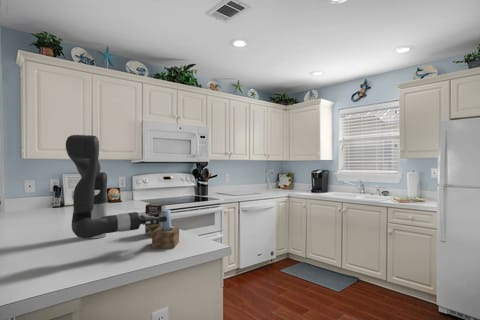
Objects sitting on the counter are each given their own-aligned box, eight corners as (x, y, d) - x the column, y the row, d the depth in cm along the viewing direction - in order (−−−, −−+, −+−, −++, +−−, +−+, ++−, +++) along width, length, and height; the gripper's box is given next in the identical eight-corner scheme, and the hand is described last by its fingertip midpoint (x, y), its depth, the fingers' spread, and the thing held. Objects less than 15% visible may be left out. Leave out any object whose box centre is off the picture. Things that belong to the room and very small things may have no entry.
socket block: (151, 247, 126) (152, 232, 126) (158, 241, 136) (158, 227, 136) (174, 248, 126) (174, 232, 126) (179, 241, 136) (179, 227, 136)
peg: (160, 241, 129) (160, 211, 129) (162, 239, 133) (163, 209, 133) (168, 241, 129) (169, 211, 129) (171, 239, 133) (171, 209, 133)
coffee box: (144, 235, 148) (144, 205, 148) (149, 232, 154) (149, 203, 154) (161, 236, 147) (161, 205, 147) (165, 233, 153) (165, 203, 153)
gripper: (132, 215, 114) (169, 211, 125) (121, 210, 125) (156, 207, 136) (132, 234, 114) (169, 228, 125) (121, 227, 125) (156, 222, 136)
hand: (162, 217), depth 130 cm, fingers open, 8 cm apart
